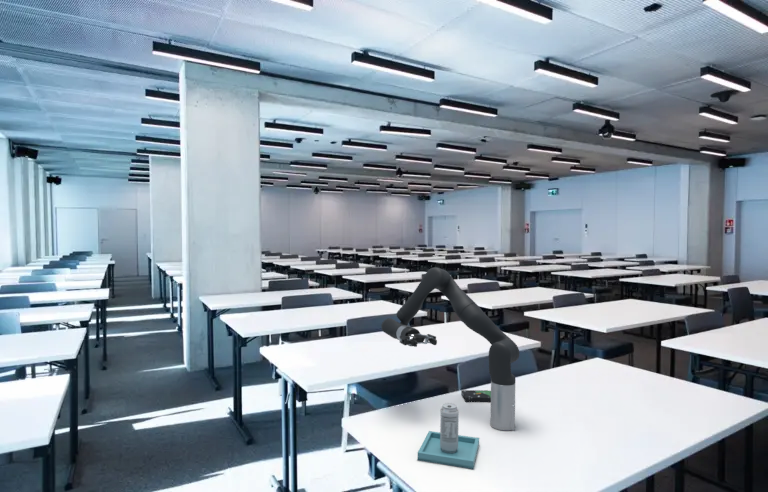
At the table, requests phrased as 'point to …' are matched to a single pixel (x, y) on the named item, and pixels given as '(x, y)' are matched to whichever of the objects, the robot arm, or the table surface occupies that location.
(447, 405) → the energy drink can
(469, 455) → the tray
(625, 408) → the table surface
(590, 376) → the table surface
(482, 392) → the disk drive
